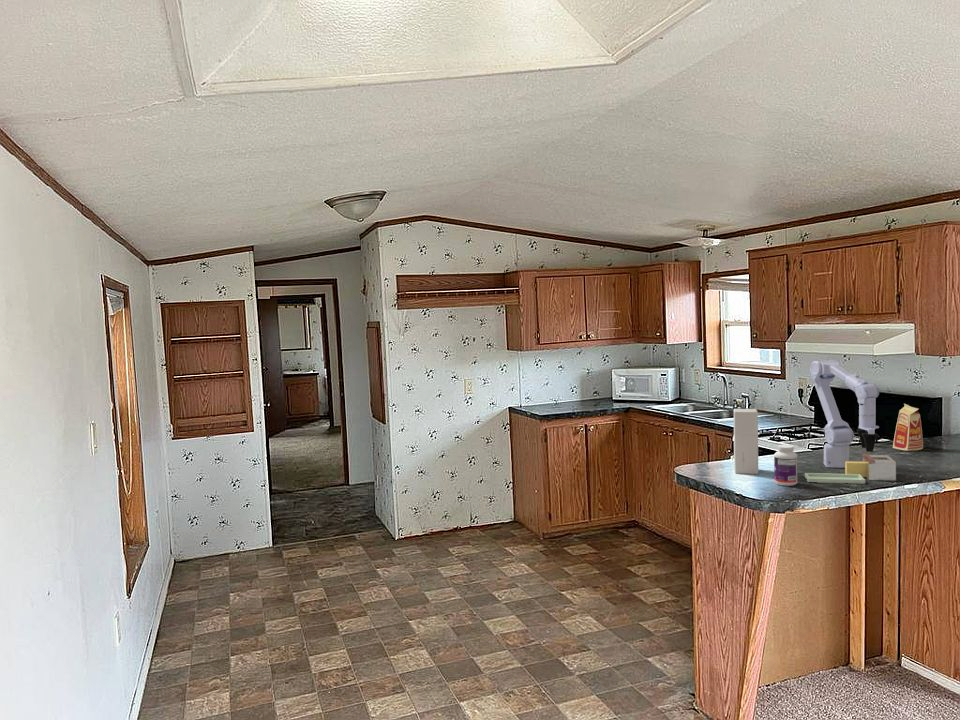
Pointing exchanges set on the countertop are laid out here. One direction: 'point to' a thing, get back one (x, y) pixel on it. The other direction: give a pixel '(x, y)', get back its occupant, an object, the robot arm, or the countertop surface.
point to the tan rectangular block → (856, 468)
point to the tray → (835, 478)
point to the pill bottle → (785, 466)
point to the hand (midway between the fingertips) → (867, 449)
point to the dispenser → (880, 467)
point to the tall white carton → (746, 441)
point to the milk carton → (908, 430)
